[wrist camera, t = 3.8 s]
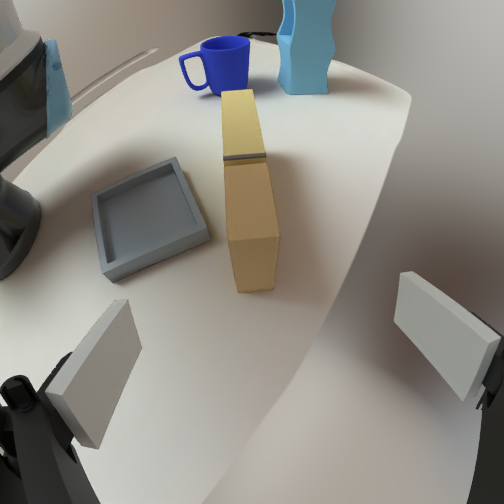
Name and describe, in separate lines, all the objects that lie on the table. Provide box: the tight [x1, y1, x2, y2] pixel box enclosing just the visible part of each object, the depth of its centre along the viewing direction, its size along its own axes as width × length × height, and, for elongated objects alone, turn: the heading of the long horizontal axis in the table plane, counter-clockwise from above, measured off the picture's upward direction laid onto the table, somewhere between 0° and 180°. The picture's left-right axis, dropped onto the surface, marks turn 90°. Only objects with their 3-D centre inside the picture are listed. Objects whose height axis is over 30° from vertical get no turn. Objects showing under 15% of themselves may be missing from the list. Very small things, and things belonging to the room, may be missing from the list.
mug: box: [179, 36, 250, 95], centre depth 41 cm, size 8×12×10 cm
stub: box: [224, 163, 280, 293], centre depth 25 cm, size 7×4×10 cm, turn 5°
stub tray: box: [91, 157, 211, 283], centre depth 31 cm, size 12×12×2 cm
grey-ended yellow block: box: [221, 89, 266, 167], centre depth 30 cm, size 12×4×10 cm, turn 5°
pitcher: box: [277, 0, 337, 95], centre depth 38 cm, size 8×8×20 cm
